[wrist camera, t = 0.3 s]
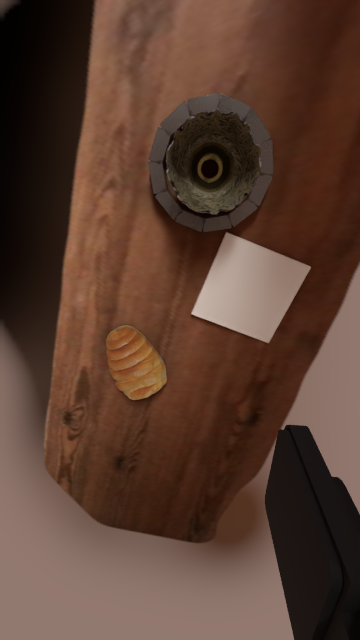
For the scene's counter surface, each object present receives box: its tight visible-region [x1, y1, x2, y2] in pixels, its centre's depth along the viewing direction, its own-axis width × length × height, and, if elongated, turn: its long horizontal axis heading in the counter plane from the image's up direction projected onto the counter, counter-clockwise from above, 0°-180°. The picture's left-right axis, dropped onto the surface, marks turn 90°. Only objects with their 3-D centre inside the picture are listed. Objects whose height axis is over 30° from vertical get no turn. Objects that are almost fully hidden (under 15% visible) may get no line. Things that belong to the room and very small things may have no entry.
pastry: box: [106, 325, 167, 400], centre depth 40 cm, size 9×7×4 cm
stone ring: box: [148, 93, 274, 232], centre depth 31 cm, size 12×12×2 cm
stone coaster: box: [191, 232, 311, 343], centre depth 37 cm, size 10×10×1 cm
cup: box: [166, 108, 261, 215], centre depth 29 cm, size 8×7×8 cm
